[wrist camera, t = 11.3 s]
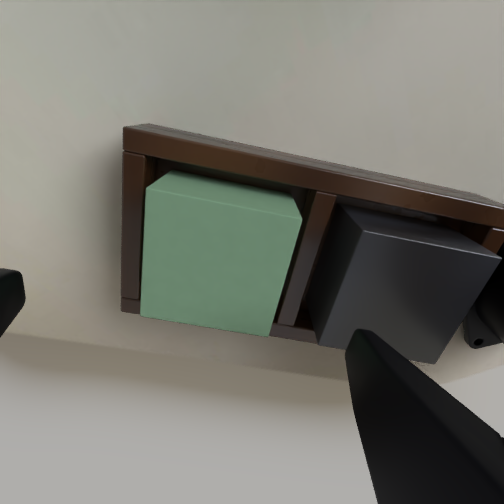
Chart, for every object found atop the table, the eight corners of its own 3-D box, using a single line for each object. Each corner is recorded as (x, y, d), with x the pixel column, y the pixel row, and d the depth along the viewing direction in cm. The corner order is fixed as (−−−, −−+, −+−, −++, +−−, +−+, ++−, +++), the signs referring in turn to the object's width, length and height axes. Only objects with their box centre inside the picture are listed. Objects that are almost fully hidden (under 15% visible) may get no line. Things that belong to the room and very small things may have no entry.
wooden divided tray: (475, 193, 13) (567, 227, 9) (403, 326, 17) (450, 393, 13) (148, 123, 12) (97, 128, 8) (140, 280, 16) (102, 338, 12)
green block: (291, 193, 12) (303, 218, 9) (265, 292, 14) (268, 337, 12) (171, 169, 12) (145, 187, 9) (163, 274, 14) (139, 316, 11)
